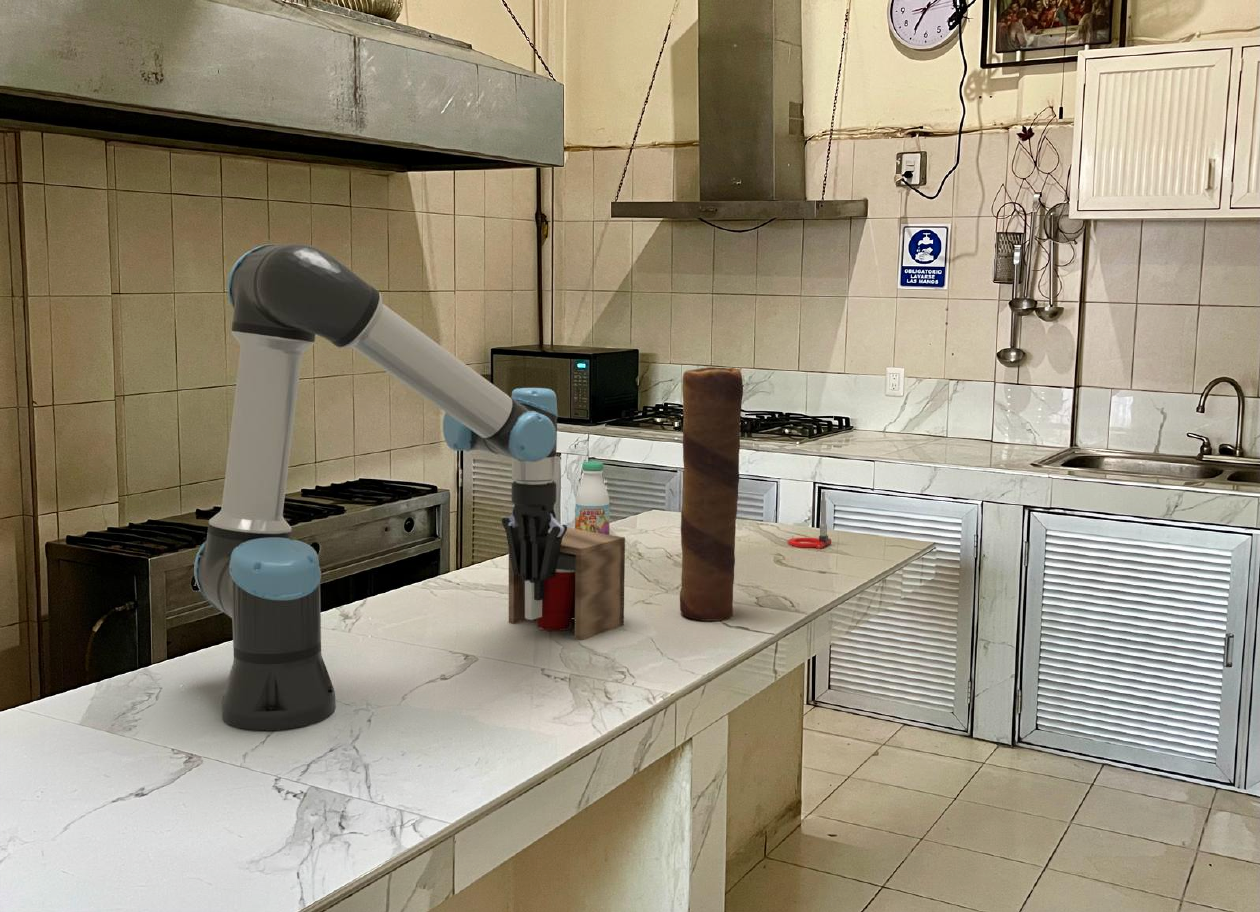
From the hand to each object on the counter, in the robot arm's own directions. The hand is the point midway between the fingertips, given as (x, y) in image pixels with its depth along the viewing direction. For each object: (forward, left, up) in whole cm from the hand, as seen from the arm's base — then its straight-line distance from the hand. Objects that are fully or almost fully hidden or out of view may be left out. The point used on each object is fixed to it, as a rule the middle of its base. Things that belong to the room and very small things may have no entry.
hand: (533, 617), depth 205 cm
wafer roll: (+30, -16, -3) cm, 34 cm away
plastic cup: (+6, 0, -3) cm, 7 cm away
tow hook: (+96, 0, -3) cm, 96 cm away
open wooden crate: (+9, 0, -3) cm, 9 cm away
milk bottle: (+58, +34, -3) cm, 67 cm away
